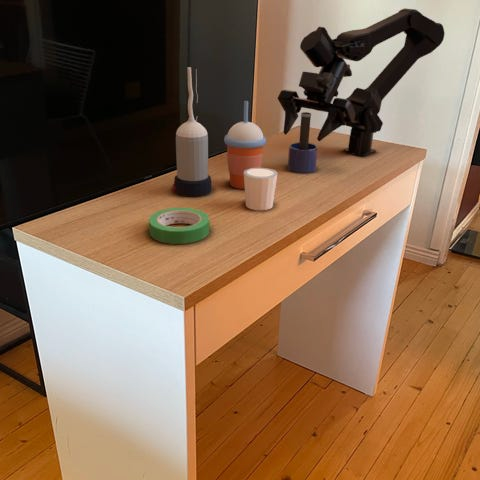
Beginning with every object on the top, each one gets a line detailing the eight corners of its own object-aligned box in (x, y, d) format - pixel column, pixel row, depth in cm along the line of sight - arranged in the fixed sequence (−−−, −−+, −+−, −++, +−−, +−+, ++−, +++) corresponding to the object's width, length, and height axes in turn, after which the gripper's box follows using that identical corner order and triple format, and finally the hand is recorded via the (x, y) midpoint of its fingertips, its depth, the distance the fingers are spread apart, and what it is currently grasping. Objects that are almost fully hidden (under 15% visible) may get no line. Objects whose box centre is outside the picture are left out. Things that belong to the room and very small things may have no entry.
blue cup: (299, 162, 145) (301, 140, 142) (321, 169, 141) (323, 146, 139) (282, 168, 141) (283, 145, 138) (303, 175, 137) (305, 151, 134)
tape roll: (159, 248, 101) (158, 234, 100) (142, 225, 110) (141, 211, 108) (218, 239, 105) (218, 225, 103) (197, 217, 113) (197, 204, 112)
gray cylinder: (301, 164, 142) (305, 111, 136) (308, 166, 141) (313, 113, 134) (295, 166, 141) (299, 113, 134) (302, 168, 140) (307, 114, 133)
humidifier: (166, 190, 126) (160, 66, 113) (193, 181, 131) (191, 62, 118) (191, 199, 122) (188, 72, 108) (219, 190, 127) (219, 67, 113)
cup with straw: (265, 179, 134) (269, 97, 124) (262, 192, 126) (266, 106, 117) (226, 177, 135) (227, 96, 125) (221, 190, 127) (221, 104, 117)
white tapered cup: (279, 202, 122) (281, 169, 118) (270, 213, 116) (272, 179, 112) (248, 197, 123) (249, 165, 120) (238, 208, 118) (238, 175, 114)
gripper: (284, 53, 135) (255, 109, 134) (356, 61, 126) (327, 122, 125) (298, 84, 145) (272, 137, 143) (366, 94, 136) (339, 151, 134)
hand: (301, 136), depth 136 cm, fingers open, 9 cm apart
